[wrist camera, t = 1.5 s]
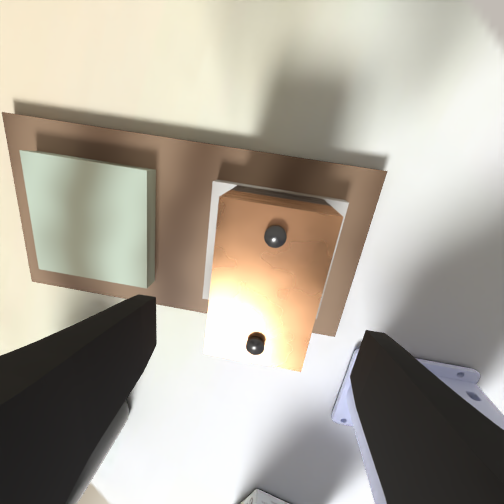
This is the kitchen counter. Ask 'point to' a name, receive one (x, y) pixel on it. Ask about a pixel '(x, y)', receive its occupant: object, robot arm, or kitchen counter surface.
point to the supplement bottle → (99, 454)
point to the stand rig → (162, 209)
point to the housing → (268, 275)
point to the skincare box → (262, 498)
